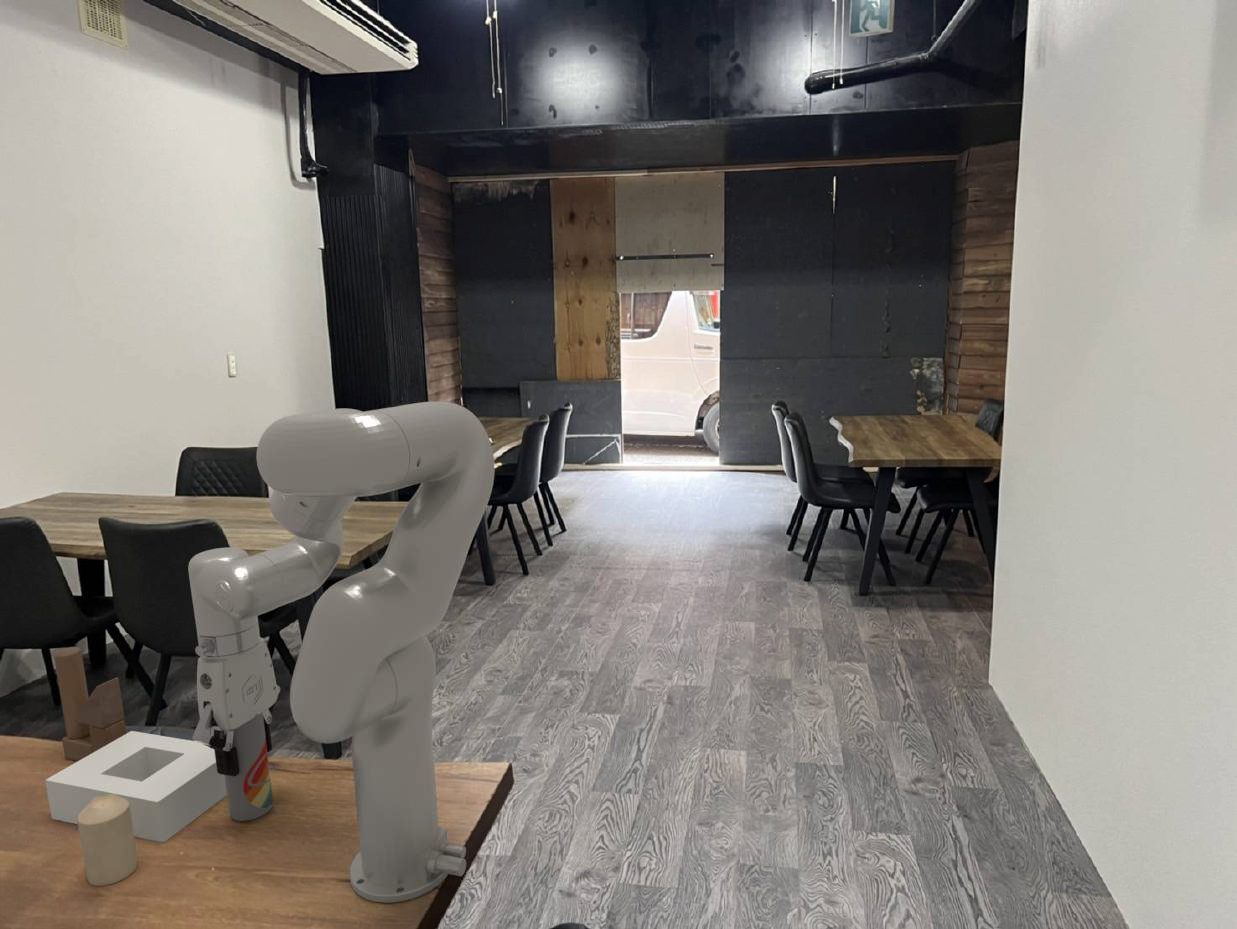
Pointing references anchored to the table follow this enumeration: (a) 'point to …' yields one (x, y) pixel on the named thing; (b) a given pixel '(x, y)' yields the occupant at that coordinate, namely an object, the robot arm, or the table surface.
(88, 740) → the brown block with handle
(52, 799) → the bottle caddy
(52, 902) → the table surface
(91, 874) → the candle
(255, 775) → the lotion bottle
